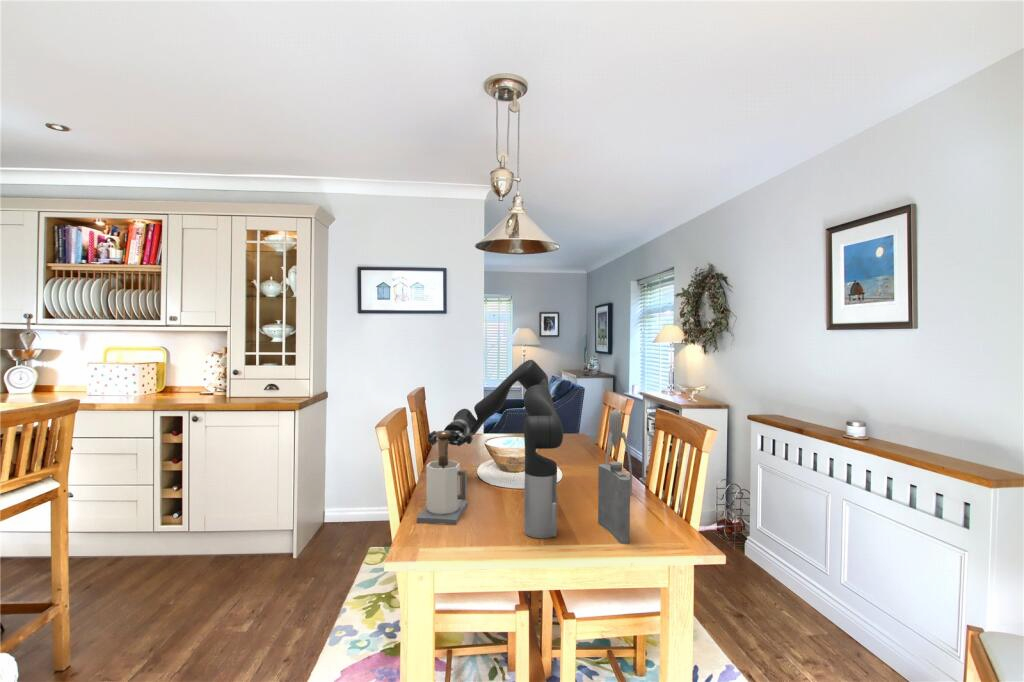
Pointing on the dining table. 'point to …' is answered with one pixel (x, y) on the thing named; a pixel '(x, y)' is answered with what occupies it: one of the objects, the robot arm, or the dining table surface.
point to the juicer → (614, 437)
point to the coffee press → (444, 493)
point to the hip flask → (614, 501)
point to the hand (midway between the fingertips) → (445, 442)
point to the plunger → (443, 447)
